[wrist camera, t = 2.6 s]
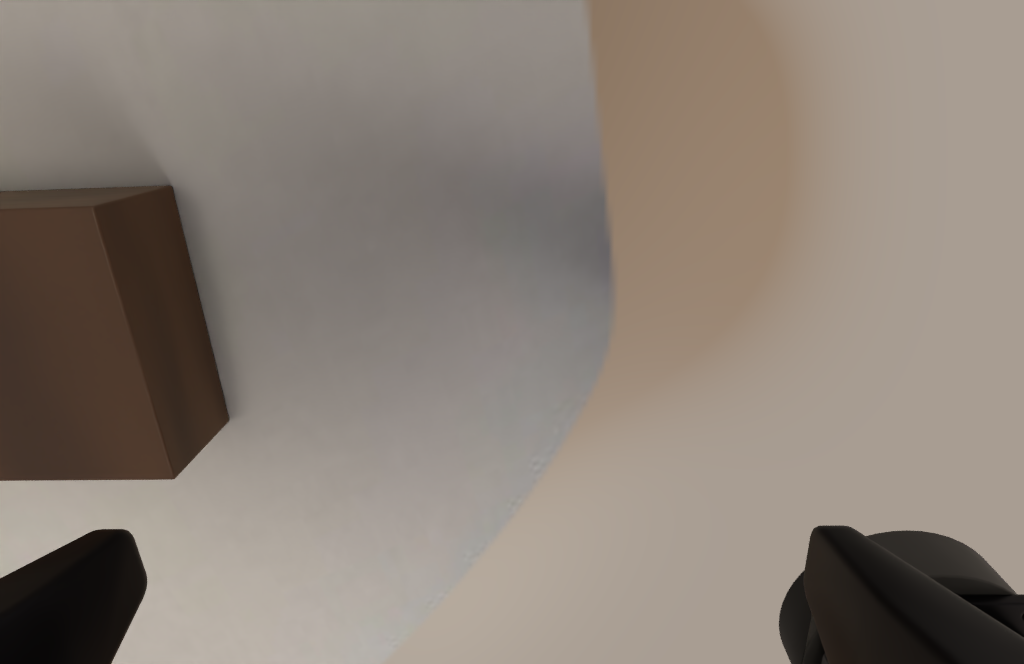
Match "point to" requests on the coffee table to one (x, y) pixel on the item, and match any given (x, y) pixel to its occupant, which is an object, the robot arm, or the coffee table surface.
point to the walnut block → (101, 338)
